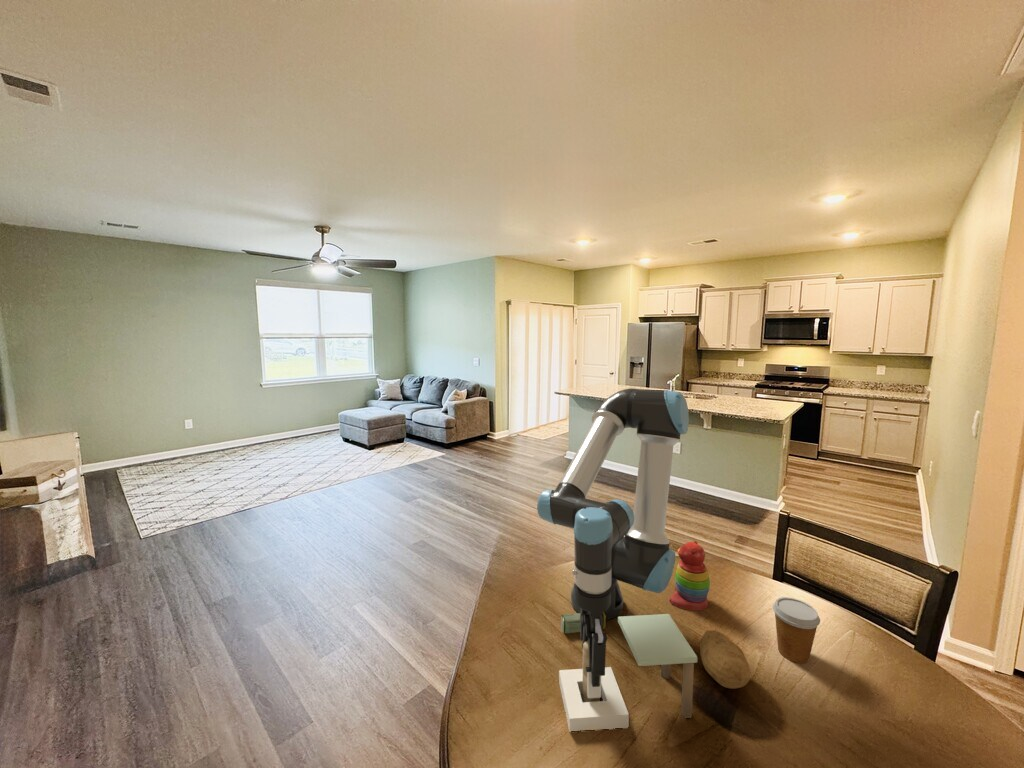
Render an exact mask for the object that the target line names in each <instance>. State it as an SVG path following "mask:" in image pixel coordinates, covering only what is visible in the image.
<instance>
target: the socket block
mask: <svg viewBox="0 0 1024 768" xmlns="http://www.w3.org/2000/svg"><path fill="white" fill-rule="evenodd" d="M558 683H559V688H560V693H561V697H562V698H561V699H562V702H563V707H564V712H566V713H565V716H566V717H567V718H566V717H565V718H566V721H567V726H568V727H567V728H568V731H570V732H569V733H572V732H571V731H578V730H579V731H580V730H586V729H587V730H588V729H609V730H616V729H615V728H623V729H629V728H628V727H630V726H629V722H630V719H629V718H630V714H629V711H628V709H627V705H626V703H625V700H624V698H623V696H622V692H621V691H620V688H619V685H618V683H617V680H616V677H615V675H614V672H613V669H612V667H611V666H605V676H601V699H602V700H601V701H597V702H584V701H583V698H582V695H583V668H575V669H574V668H573V669H560V670H558ZM613 728H614V729H613Z"/></svg>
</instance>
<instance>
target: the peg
mask: <svg viewBox="0 0 1024 768" xmlns="http://www.w3.org/2000/svg"><path fill="white" fill-rule="evenodd" d="M586 667H589V649H588V641H586V642H584V644H583V648H582V669H583V694H582V695H581V699H582V702H597V701H600V698H588V696H587V672H586Z"/></svg>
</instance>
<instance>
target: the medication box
mask: <svg viewBox="0 0 1024 768" xmlns="http://www.w3.org/2000/svg"><path fill="white" fill-rule="evenodd" d="M602 614H603V615H604V624H603V630H604V629H607V627H606V621H607V619H606V615H605V613H604V612H603V613H602ZM560 617H561V619H560V620H561V622H560V623H561V624H560V629H561V632H562V634H563V635H564V634H572V633H573V634H574V633H580V613H578V612H577V613H567V614H561V616H560Z"/></svg>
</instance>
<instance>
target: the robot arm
mask: <svg viewBox="0 0 1024 768" xmlns="http://www.w3.org/2000/svg"><path fill="white" fill-rule="evenodd" d="M591 422H592V424H591V426H590V427H589V429H588V431H587V433H586V434H585V436H584V438H583V439H582V441H581V443H580V445H579V447H578V449H577V450H576V452H575V454H574V456H573V458H572V460H571V461H570V463H569V465H568V467H567V468H566V470H565V471H564V474H563V476H562V477H561V479H560V481H559V482H558V484H557V486H556V488H555V489H545V490H544V491H542V492H541V494H539V497H538V500H537V504H536V505H537V506H536V507H537V508H536V509H537V510H536V512H537V515H538V516H539V517H540V519H542V520H544V521H545V522H548V523H551V524H554V525H559V526H562V527H566V528H570V529H573V534H574V537H573V538H574V569H572V570H571V574H572V575H573V576H574V583H573V586H572V588H571V592H570V603H571V607H573V610H575V611H576V612H577V613H580V632H579V633H580V634H579V635H580V636H579V640H580V641H581V648H582V649H583V644H584V642H586V641H588V649H589V667H586V672H587V696H588V698H601V699H602V697H601V676H605V667H606V655H607V654H606V653H607V652H606V650H607V641H608V634H607V632H604V629H603V624H604V615H603V614H602V613H603V612H604V613H605V615H606V620H610V619H611V620H612V619H614V618H616V617H619V615H620V614H621V613H622V612H623V610H624V598H623V594H622V591H621V587H620V584H619V582H618V581H620V582H622V583H624V584H625V583H626V584H628V585H631V586H634V587H637V588H639V589H642V590H644V591H645V592H646V591H648V592H652V593H655V594H661V593H664V591H665V590H666V589H667V587H668V585H669V583H670V581H671V578H672V576H673V572H674V568H675V564H676V552H675V551H674V550H673V549H672V548H670V543H671V542H670V540H669V538H668V537H667V536H666V533H665V532H666V531H665V530H666V520H667V513H668V512H667V511H668V502H669V493H670V481H671V473H672V472H671V471H672V464H673V454H674V453H673V452H674V446H675V445H676V444H677V443H679V442H680V441H681V435H686V434H687V433H688V431H689V429H688V428H689V424H690V416H689V407H688V402H687V400H686V397H685V396H684V394H683V393H681V392H679V391H674V390H667V389H643V388H625V389H622V390H618V391H617V392H615V393H613V394H611V395H610V396H609V397H607V398H606V399H605V400H604V401H602V402H601V404H599V405H598V407H597V408H596V410H595V411H594V413H593V415H592V416H591ZM627 428H631V429H636V436H637V438H639V440H640V450H639V452H640V453H639V459H638V460H639V461H638V469H637V477H636V485H635V494H634V503H633V504H634V505H633V509H632V507H631V505H629V503H627V502H626V501H624V500H621V499H612V500H608V501H607V502H602V501H598V500H594V499H590V498H586V497H587V496H588V494H589V492H590V489H591V487H592V486H593V484H594V482H595V480H596V477H597V476H598V474H599V472H600V470H601V468H602V465H604V462H605V460H606V458H607V456H608V454H609V452H610V450H611V448H612V446H613V444H614V442H615V440H616V438H617V436H620V435H621V434H623V431H624V430H625V429H627Z"/></svg>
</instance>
